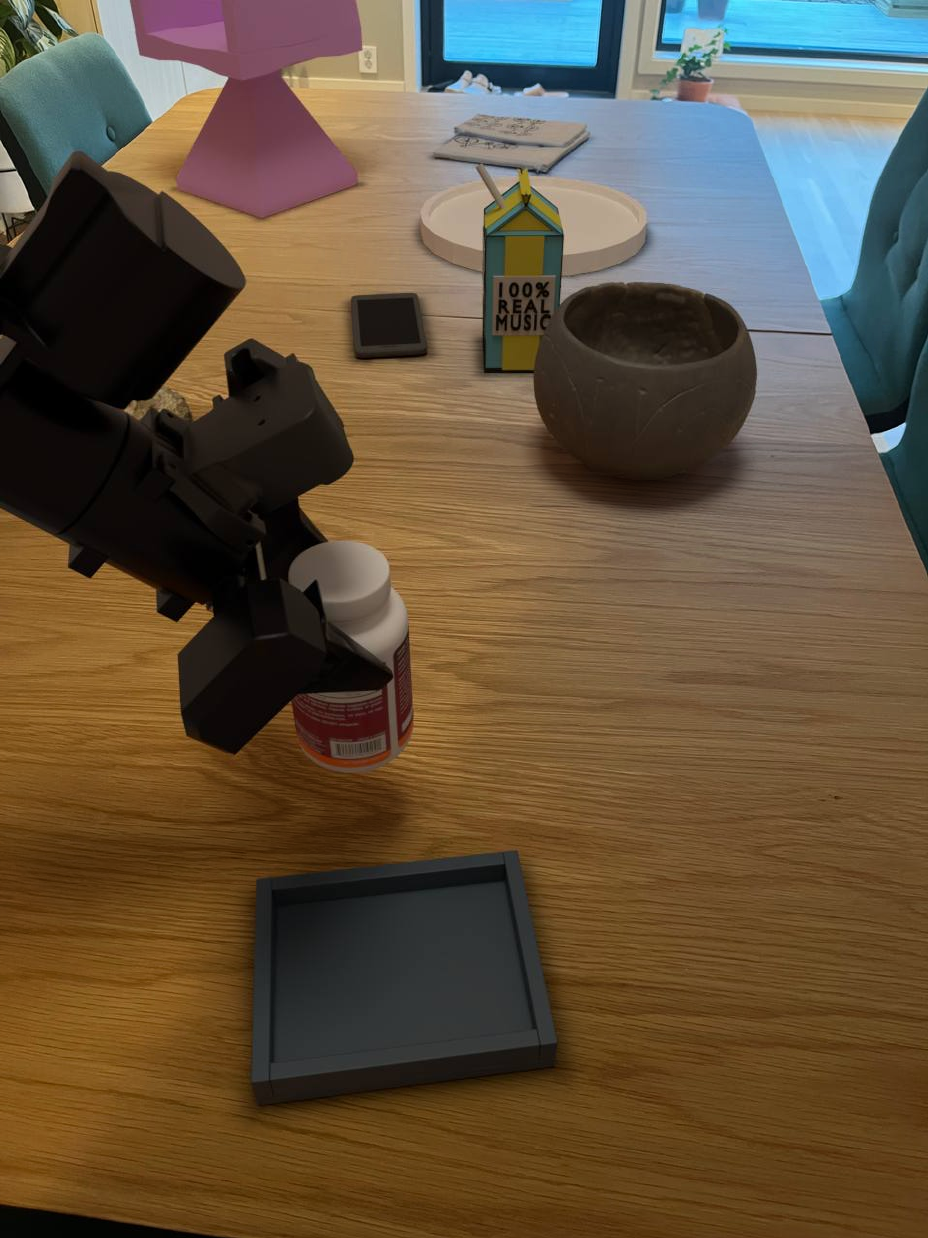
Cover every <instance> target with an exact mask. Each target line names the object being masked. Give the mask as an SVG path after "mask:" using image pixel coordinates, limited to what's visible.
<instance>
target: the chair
mask: <svg viewBox="0 0 928 1238" xmlns="http://www.w3.org/2000/svg"><path fill="white" fill-rule="evenodd" d="M129 4H130V9H131V16H132V20H133V25H134V33H135V38H136V44H137V48H138V49H137V50H138V54H139V56H141V57H145V58H149V59H153V60H157V61H178V62H183V63H187V64H191V65H195V66H197V67H198V66H199V67H201V68H203V69H205V70H207V71H210V72H212V73H215V74H216V75H219V76H222V77H226V78H227V80H226V82H225V84H224V86H223V87H222V89H221V91H220V93H219V95H218V97H217V99H216V100H215V103H214V105H213V107H212V108H211V110H210V112H209V114H208V116H207V117H206V120H205V122H204V124H203V125H202V127H201V129H200V131H199V133H198V135H197V137H196V139H195V141H194V142H193V144H192V147H191V148H190V150H189V152H188V154H187V156H186V157H185V160H184V162H183V163H182V165H181V167H180V169H179V171H178V172H177V175H176V176H175V182H176V187H177V190H178V191H181V192H184V193H187V194H190V195H193V196H195V197H199V198H201V199H204V200H208V201H210V202H213V203H216V204H219V205H222V206H225V207H228V208H231V209H234V210H236V211H238V212H242V213H245V214H248V215H251V216H254V217H257V218H260V219H264V218H267V217H270V216H272V215H275V214H278V213H281V212H284V211H287V210H289V209H292V208H295V207H298V206H301V205H303V204H307V203H310V202H312V201H315V200H317V199H320V198H323V197H327V196H329V195H332V194H334V193H337V192H340V191H343V190H346V189H348V188H349V189H350V188H351V187H354V186H358V185H359V180H358V179H359V178H358V172H357V170H356V169H355V168H354V167H353V165H352V164H351V162H349V161H348V159H347V158H346V156H345V155H344V154H343V153H342V152H341V151H340V149H339V148H338V147H337V145H336V144H335V143H334V141H333V140H332V139H331V138H330V137H329V136H328V134H327V133H326V132H325V130H324V129H323V128H322V127H321V125H320V124H319V122H317V120H316V119H315V117H314V116H313V115H312V114H311V112H309V110H308V109H307V107H306V106H305V105H304V104H303V102H302V101H301V100H300V98H299V97H298V96H297V95H296V93H295V92H294V91H293V90H292V88H291V87H290V86H289V85H288V84H287V82H286V81H285V80H284V78H283V77H282V71H281V69H285V68H287V67H291V66H294V65H297V64H301V63H305V62H308V61H310V60H314V59H317V58H330V57H342V56H346V55H351V54H354V53H357V52H362V51H363V35H362V25H361V20H360V13H359V8H358V3H357V0H129Z"/></svg>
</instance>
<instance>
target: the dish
mask: <svg viewBox="0 0 928 1238" xmlns="http://www.w3.org/2000/svg"><path fill="white" fill-rule="evenodd" d="M255 880H256V881H255V917H254V921H255V922H254V953H253V954H254V956H253V957H254V958H253V988H252V989H253V990H252V991H253V993H252V1028H251V1029H252V1031H251V1034H252V1035H251V1069H250V1070H251V1071H250V1083H251V1087H252V1091H253V1093H254V1096H255V1100H256V1103H257V1105H258V1106H264V1105H265V1106H266V1105H271V1104H272V1105H273V1104H281V1103H287V1102H294V1101H301V1100H310V1099H318V1098H326V1097H332V1096H333V1097H334V1096H341V1095H346V1094H347V1095H349V1094H355V1093H362V1092H370V1091H371V1092H372V1091H378V1090H385V1089H392V1088H393V1089H394V1088H400V1087H401V1088H402V1087H409V1086H416V1085H424V1084H432V1083H438V1082H446V1081H452V1080H453V1081H454V1080H461V1079H468V1078H475V1077H477V1078H478V1077H484V1076H492V1075H498V1074H506V1073H507V1074H508V1073H514V1072H521V1071H522V1072H523V1071H528V1070H537V1069H545V1068H551V1067H552V1068H553V1067H555V1066H556V1058H557V1050H558V1037H557V1032H556V1027H555V1023H554V1019H553V1014H552V1009H551V1004H550V999H549V994H548V989H547V984H546V980H545V976H544V972H543V971H544V970H543V966H542V961H541V956H540V952H539V947H538V942H537V938H536V932H535V927H534V922H533V918H532V913H531V909H530V903H529V899H528V898H529V897H528V893H527V889H526V886H525V885H526V884H525V879H524V875H523V870H522V864H521V860H520V855H519V850H518V849H513V850H505V851H497V852H496V851H495V852H487V853H479V854H469V855H460V856H450V857H442V858H433V859H425V860H424V859H423V860H415V861H407V862H406V861H405V862H396V863H388V864H387V863H386V864H379V865H370V866H361V867H352V868H343V869H335V870H333V869H332V870H324V871H315V872H307V873H297V874H288V875H280V876H271V877H269V876H268V877H262V878H260V877H259V878H256V879H255Z"/></svg>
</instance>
